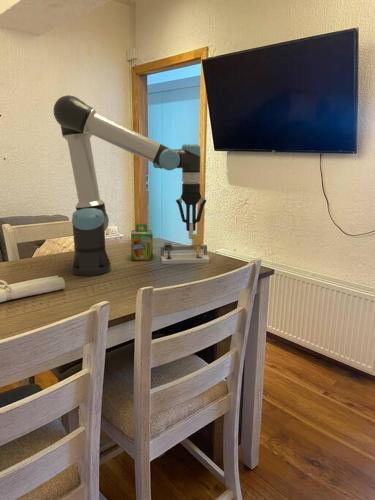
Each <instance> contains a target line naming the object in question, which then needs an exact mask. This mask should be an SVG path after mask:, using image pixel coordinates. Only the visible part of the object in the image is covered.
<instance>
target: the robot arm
mask: <svg viewBox="0 0 375 500" xmlns="http://www.w3.org/2000/svg"><path fill="white" fill-rule="evenodd" d="M53 116H54V118H55V120H56V122H57V123H58V124H59V126H60V129H61V131H60V132H61V135H62V138H63V139H65V140H66V141H67V146H68V151H69V156H70V162H71V166H72V172H73V178H74V184H75V189H76V196H77V201H78V202H77V204H76V205H75V209H76V210H74V212H73V213H72V216H71V223H72V233H73V234H72V235H73V246H74V253H73V258H72V260H71V261H72V262H71V265H70V272H71V273H72V274H73V275H76V276H81V277H92V276H99V275H103V274H106V273H109V272H110V271H111V270H112V263H111V260H110V259H109V255H108V253H107V249H106V230H107V229H108V226H109V215H108V213H107V210H106V204H105V201H103V200H102V199H101V198H100V197H101V196H100V191H99V187H98V180H97V179H98V178H97V173H96V168H95V167H96V166H95V162H94V156H93V149H92V144H91V137H92V136H94V137H97V138H98V139H101V140H102V141H105V142H106V143H108V144H111V145H113V146H115V147H118V148H119V149H122V150H124V151H126V152H129V153H130V154H133V155H135V156H138V157H140V158H141V159H144V160H145V161H148V162H150V163H152V165H153V168H155V169H160V170H161V169H163V170H166V171H173V170H176V169H182V170H181V181H182V184H181V194H180V198H178V199H176V200H175V202H176V204H177V206H178V209H179V213H180V216H181V217H180V218H181V221H182V223H185V224H186V226H185V227H186V228H185V229H186V231H187V232H188V239H189V240H192V239H193V234H194V232H196V230H197V229H196V228H197V227H196V224H197V223H200V222H201V218H202V215H203V211H204V206H205V204H206V202H207V199H205V198H203V197H202V195H201V184H200V182H201V161H202V159H201V146H200V145H199V144H194V143H193V144H192V143H191V144H190V143H189V144H188V143H187V144H185V143H184V144H182V145H181V148H179V149H173V148H170V147H168V146H165V145H164V144H161V143H160V142H157V141H155V140H153V139H151V138H149V137H147V136H146V135H143V134H141V133H138V132H137V131H134V130H132V129H131V128H128V127H126V126H125V125H122V124H120V123H118V122H116V121H114V120H112V119H110V118H108V117H106V116H104V115H102V114H99V113H98V112H97V111H96V109H95V107H92V106H90V105H88V104H86V102H84V101H82V100H81V99H80V98H79V97H76V96H74V95H63V96H61V97H59V98H58V99H57V100H56V101H55V103H54V105H53ZM182 201H183V202H182ZM182 203H184V204H185V207H186V208H185V212H186V213H184V208H183V205H182ZM198 203H200V204H199V207H198V212H197V205H198ZM190 208H191V209H190ZM191 211H192V213H190V212H191ZM190 214H191V215H190ZM185 216H186V217H185ZM190 218H191V219H190ZM190 220H191V221H190Z"/></svg>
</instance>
